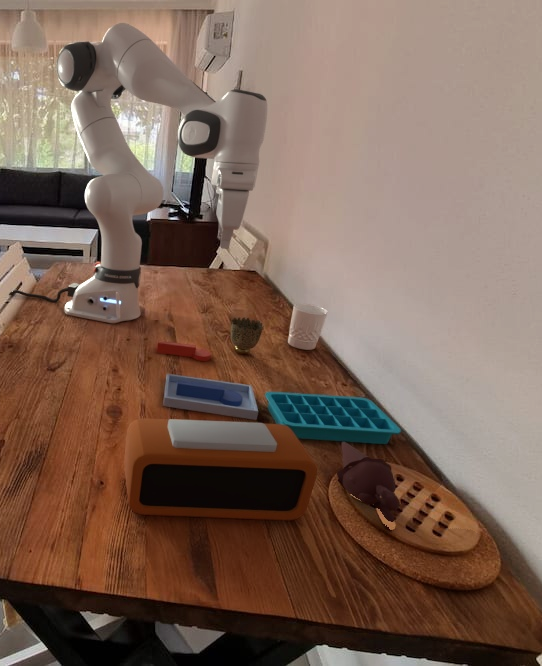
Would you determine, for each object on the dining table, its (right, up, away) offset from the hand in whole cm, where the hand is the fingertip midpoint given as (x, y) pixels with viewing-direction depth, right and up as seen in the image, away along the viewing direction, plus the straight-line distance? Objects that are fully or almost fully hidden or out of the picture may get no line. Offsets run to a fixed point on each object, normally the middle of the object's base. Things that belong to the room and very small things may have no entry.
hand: (222, 243), depth 100 cm
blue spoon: (-6, -32, -10) cm, 34 cm away
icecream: (+10, -44, -33) cm, 56 cm away
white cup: (+26, -23, +19) cm, 40 cm away
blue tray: (-6, -33, -9) cm, 35 cm away
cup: (+8, -25, +13) cm, 29 cm away
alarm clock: (-13, -43, -35) cm, 57 cm away
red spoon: (-6, -25, +10) cm, 27 cm away
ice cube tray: (+14, -37, -16) cm, 42 cm away
